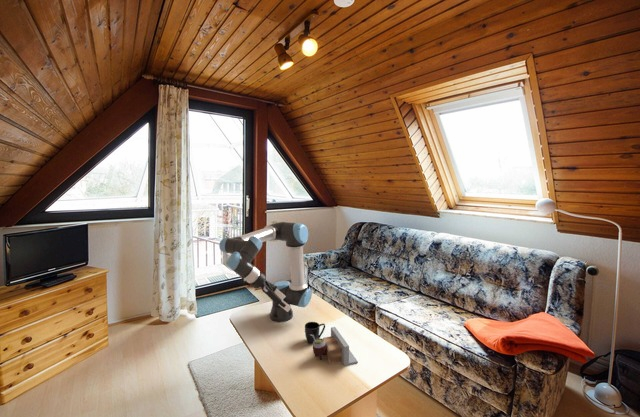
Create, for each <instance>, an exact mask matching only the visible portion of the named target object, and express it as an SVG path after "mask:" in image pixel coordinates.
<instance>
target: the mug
mask: <svg viewBox="0 0 640 417" xmlns="http://www.w3.org/2000/svg"><path fill="white" fill-rule="evenodd" d="M322 326H323V327H322ZM320 327H322V329H321V332H320ZM325 328H326V324H325V323H318V322H316V321H308V322H306V323H305V324H304V334H305V338H306V342H307V344H309V345H313V342H314V338H315V340H316V339H319V338H320V339H321V336H322V335H323V333H324V331H325ZM311 335H314V338H313V337H312V336H311Z"/></svg>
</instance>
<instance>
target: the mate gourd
mask: <svg viewBox="0 0 640 417" xmlns="http://www.w3.org/2000/svg"><path fill="white" fill-rule="evenodd" d="M311 336H312V337H313V338H314V335H311ZM312 351H313V354H314V358H318V357H319V360H321V361H322V360H323V359H322V357H324V356H325V357H326V355H327V354H326V351H327V348H326V343H325V341H324V340H323V338H321V337H320V338H319V339H316V340H315V338H314V342H313V344H312Z"/></svg>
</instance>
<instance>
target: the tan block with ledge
mask: <svg viewBox="0 0 640 417" xmlns="http://www.w3.org/2000/svg"><path fill="white" fill-rule="evenodd" d="M322 339H323V340H324V341H325V343H326V348H327V351H326V354H327V355H326V356H325V357H326V359H327V360H328V362H329V364H330V365H333V364H338V363H342V348H341V347H340V345H339V344H338V342H337V341H336V339H335V338H334V337H333V336H331V335H330V336H327V337H322Z"/></svg>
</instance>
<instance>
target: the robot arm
mask: <svg viewBox="0 0 640 417" xmlns="http://www.w3.org/2000/svg"><path fill="white" fill-rule="evenodd" d="M308 238H309V229H308V227H307V225H305V224H303V223H299V222H286V221H280V222H275V223H272V224H267V225H265V226H264V227H263V228H261V229H257V230H254V231H251V232H249V233H245V234H241V235H238V236H235V237H232V238H230V237H224V238H222V239H221V240H220V241H219V244H218V246H219V250H220V252H223V253H226V254H230V255H229V257H228V258H227V259H226V261H225V265H226V266H227V267H228V268H229V269H230V270H231V271H232V272H234V273H236V274H237V275H238V276H239V277H240V278H242V279H243V282H246V283H248V284H250V286H251V287H253V288H254V289H256V290H257V289H259V288H260V289H261V291H262V292H263V293H264V294H265V295H266V296H267V297H269V299H270V300H271V301H272V306H271V310H270V312H269V318H270V320H272V321H273V322H279V323H281V322H287V321H291V319H292V318H293V317H294V313H293V309H292V306H296V307H298V308H306V307H307V306H308V305H309V304H310V302H311V299H312V295H313V293H312V290H311V289H310V288H308V287H309V286H308V283H307V282H306V279H305V277H306V276H305V263H304V246H305V245H306V243H307V241H308ZM267 241H269V242H272V241H281V242H282V241H283V242H285V246H286V247H287V248H288V253H289V256H288V257H289V268H290V269H289V270H290V280H291V281H288V280H281V281H280V280H279V281H276V282H275V283H271V282H269V281H268V280H267V275H265V274H264V273H263V272H262V271H260V270H259V268H258V267H256V265H254V264H252V262H253V260H254V259H255V257H256V256H257V254H258V253H259V252H260V250H261V249H262V246H263V243H264V242H267Z"/></svg>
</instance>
